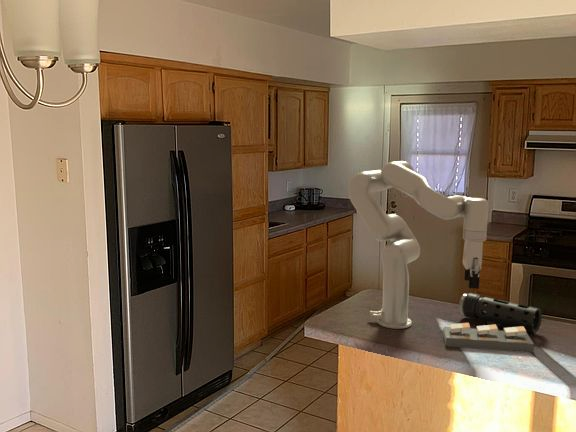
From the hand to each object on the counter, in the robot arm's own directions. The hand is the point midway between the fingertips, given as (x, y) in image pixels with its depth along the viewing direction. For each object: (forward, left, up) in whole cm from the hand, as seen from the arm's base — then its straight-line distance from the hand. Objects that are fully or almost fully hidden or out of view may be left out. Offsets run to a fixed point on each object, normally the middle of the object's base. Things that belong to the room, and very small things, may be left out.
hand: (471, 284), depth 195 cm
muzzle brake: (+13, +18, -21) cm, 31 cm away
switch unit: (+6, -1, -20) cm, 21 cm away
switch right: (+15, -1, -16) cm, 22 cm away
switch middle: (+6, -1, -16) cm, 17 cm away
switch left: (-3, -1, -16) cm, 16 cm away
